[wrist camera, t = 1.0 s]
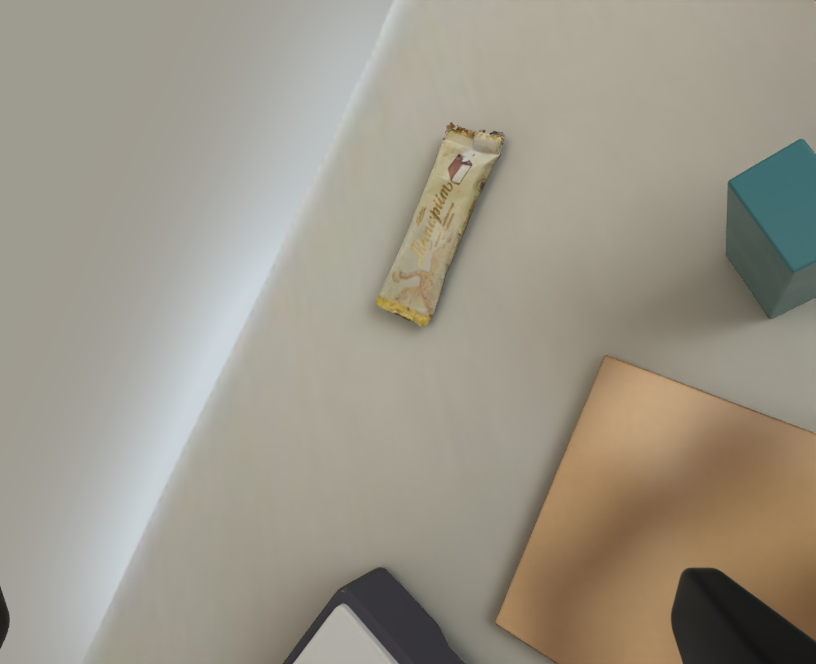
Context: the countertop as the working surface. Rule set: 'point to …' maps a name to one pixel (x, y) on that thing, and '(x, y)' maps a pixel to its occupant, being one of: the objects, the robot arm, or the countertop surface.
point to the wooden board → (663, 520)
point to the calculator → (373, 628)
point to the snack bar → (439, 223)
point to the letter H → (775, 228)
